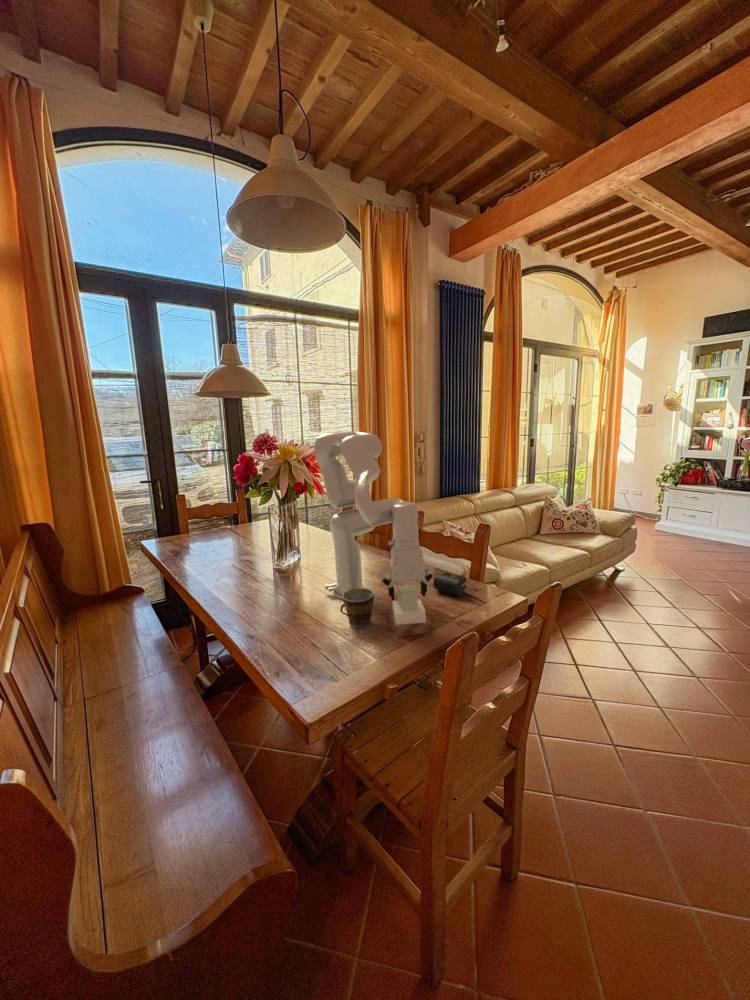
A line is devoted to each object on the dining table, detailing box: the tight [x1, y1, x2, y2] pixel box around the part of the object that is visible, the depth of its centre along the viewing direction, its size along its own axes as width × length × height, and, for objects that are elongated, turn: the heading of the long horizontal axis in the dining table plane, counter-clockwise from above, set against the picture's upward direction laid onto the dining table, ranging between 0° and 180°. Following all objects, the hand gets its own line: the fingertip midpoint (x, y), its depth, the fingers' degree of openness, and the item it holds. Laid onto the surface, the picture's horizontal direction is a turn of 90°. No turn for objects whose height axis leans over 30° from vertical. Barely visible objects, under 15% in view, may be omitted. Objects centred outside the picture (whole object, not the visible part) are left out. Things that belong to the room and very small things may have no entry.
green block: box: [397, 584, 418, 611], centre depth 124 cm, size 5×5×6 cm
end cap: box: [432, 572, 467, 598], centre depth 148 cm, size 10×7×7 cm
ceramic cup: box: [340, 588, 375, 630], centre depth 127 cm, size 13×10×10 cm
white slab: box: [392, 598, 427, 625], centre depth 126 cm, size 9×9×4 cm
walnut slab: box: [388, 609, 432, 638], centre depth 126 cm, size 11×11×4 cm
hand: (407, 596), depth 124 cm, fingers open, 9 cm apart
